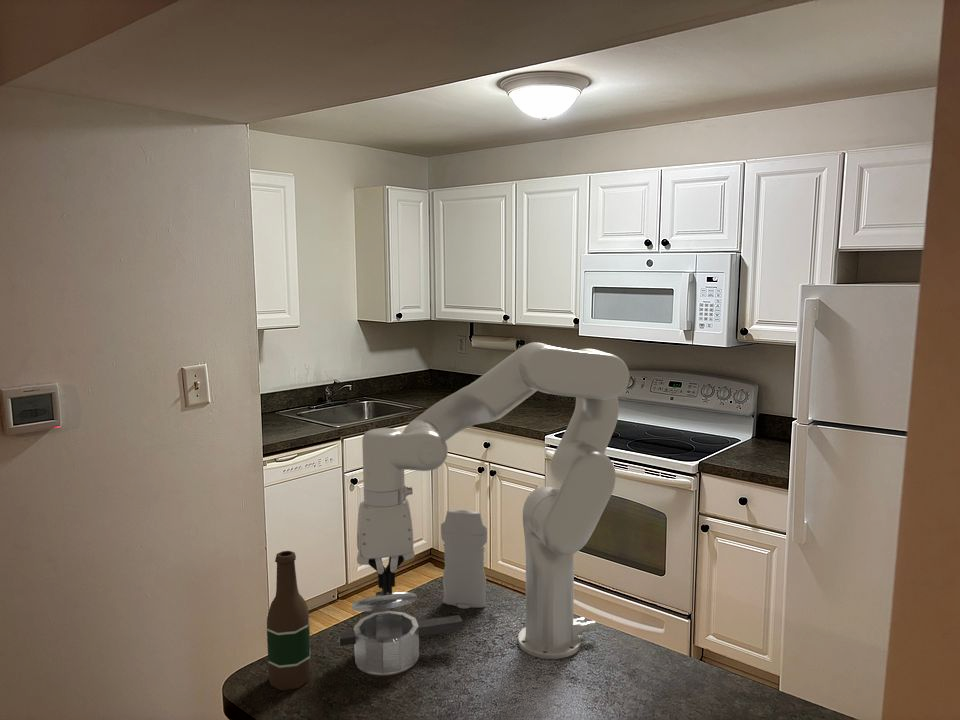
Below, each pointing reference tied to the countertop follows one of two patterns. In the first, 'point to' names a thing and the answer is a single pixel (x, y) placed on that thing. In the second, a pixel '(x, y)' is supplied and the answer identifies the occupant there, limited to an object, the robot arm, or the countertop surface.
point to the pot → (392, 640)
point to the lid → (384, 601)
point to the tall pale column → (464, 559)
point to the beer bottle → (288, 629)
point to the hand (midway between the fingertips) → (386, 590)
